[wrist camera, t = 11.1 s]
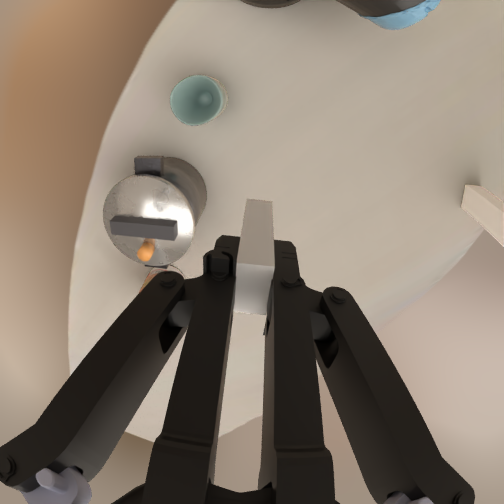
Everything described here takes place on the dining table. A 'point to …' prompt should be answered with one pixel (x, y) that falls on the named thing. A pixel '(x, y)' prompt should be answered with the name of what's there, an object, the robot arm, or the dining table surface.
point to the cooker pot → (176, 180)
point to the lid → (149, 220)
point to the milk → (485, 210)
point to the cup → (198, 99)
